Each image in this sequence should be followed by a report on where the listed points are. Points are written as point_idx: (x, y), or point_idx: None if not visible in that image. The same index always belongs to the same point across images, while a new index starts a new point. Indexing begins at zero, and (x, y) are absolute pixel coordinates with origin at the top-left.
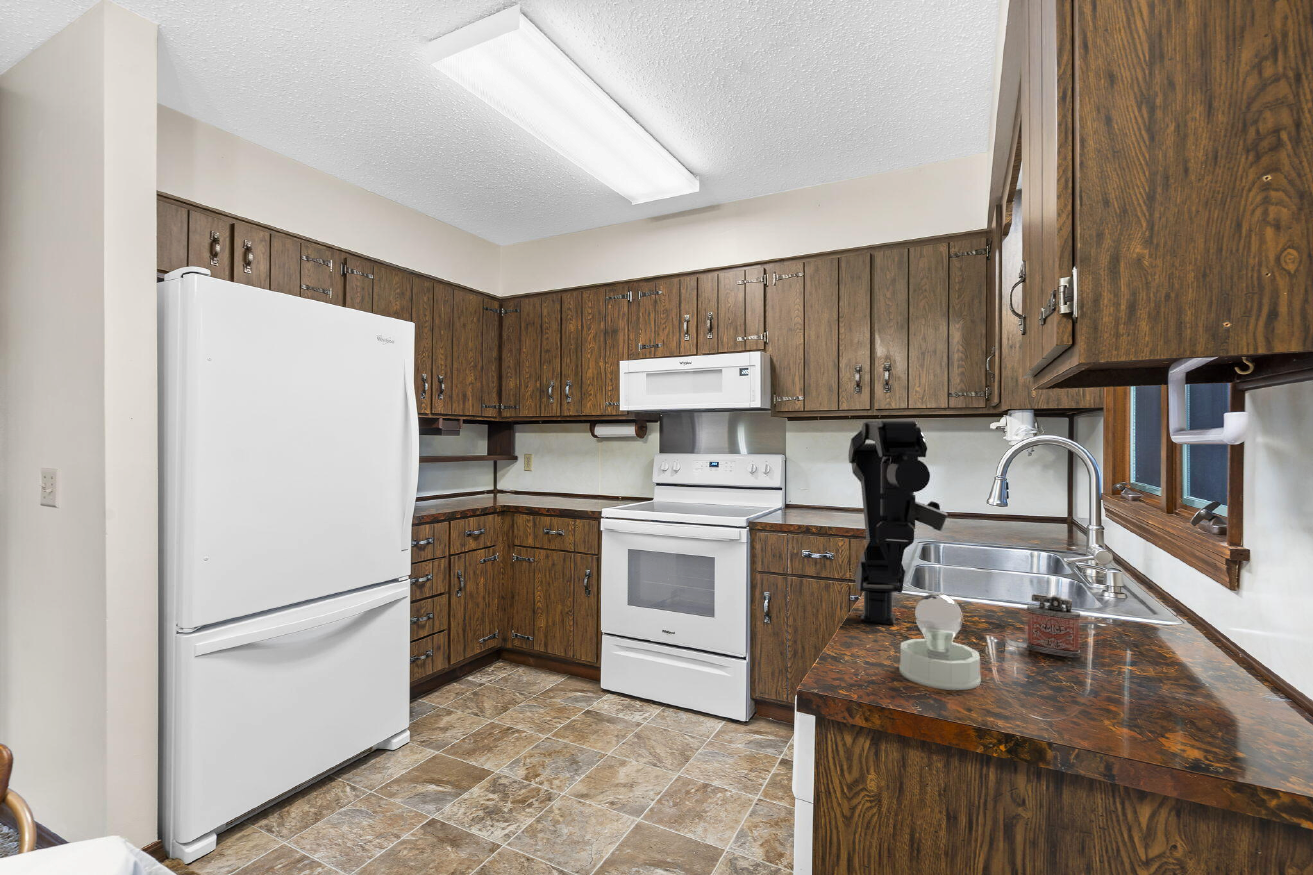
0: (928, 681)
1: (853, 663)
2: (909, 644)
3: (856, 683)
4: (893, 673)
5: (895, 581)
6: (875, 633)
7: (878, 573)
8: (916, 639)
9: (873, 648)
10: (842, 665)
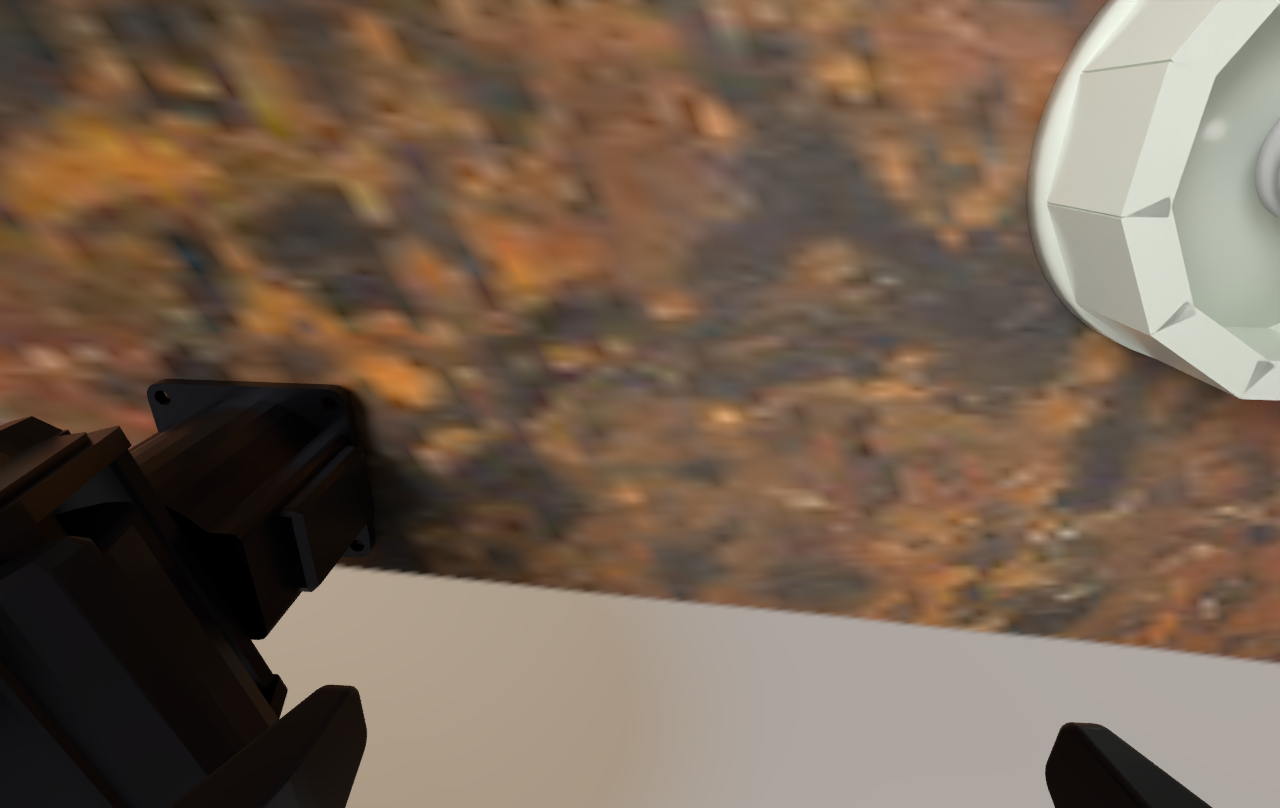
0: None
1: (1104, 550)
2: (1247, 346)
3: None
4: None
5: (151, 541)
6: (565, 473)
7: (210, 732)
8: (1155, 302)
9: (843, 476)
10: (1140, 589)
